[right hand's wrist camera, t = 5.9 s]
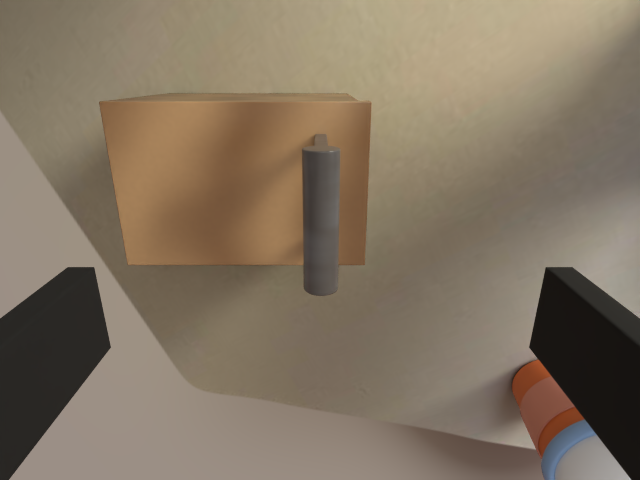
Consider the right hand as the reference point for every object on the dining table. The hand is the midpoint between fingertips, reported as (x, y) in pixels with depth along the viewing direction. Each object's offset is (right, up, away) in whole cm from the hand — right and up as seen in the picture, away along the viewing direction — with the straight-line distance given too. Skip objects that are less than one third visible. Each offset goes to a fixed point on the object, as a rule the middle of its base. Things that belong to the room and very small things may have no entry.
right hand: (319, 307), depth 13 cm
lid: (-5, +5, +14) cm, 16 cm away
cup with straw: (+23, -13, +32) cm, 42 cm away
